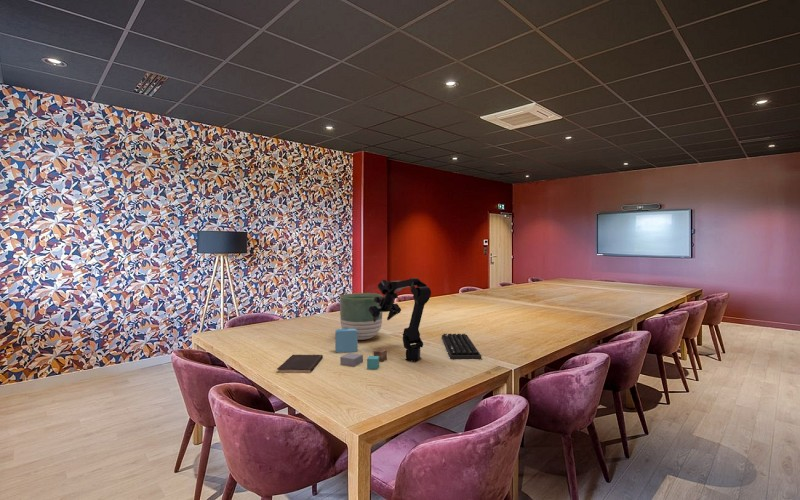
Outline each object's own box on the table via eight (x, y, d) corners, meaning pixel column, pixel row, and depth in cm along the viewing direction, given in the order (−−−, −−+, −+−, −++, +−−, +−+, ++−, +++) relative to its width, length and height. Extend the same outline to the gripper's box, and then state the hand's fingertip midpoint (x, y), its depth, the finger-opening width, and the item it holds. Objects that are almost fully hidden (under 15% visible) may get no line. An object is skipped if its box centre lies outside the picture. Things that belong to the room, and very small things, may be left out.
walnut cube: (386, 359, 198) (386, 349, 198) (382, 362, 194) (382, 352, 194) (378, 358, 200) (378, 348, 200) (373, 360, 196) (373, 351, 196)
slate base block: (362, 362, 194) (362, 354, 194) (354, 367, 186) (354, 359, 186) (349, 360, 197) (349, 352, 197) (340, 365, 190) (340, 357, 190)
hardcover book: (276, 373, 179) (276, 368, 179) (292, 359, 202) (292, 354, 201) (311, 374, 178) (311, 369, 178) (322, 359, 201) (322, 354, 201)
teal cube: (379, 366, 187) (379, 356, 187) (377, 369, 182) (377, 359, 182) (369, 366, 188) (369, 355, 188) (367, 369, 183) (367, 358, 183)
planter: (356, 346, 224) (356, 300, 223) (331, 338, 243) (331, 295, 243) (391, 338, 241) (391, 295, 241) (365, 331, 261) (365, 291, 261)
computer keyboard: (441, 339, 242) (441, 333, 242) (466, 339, 242) (466, 333, 242) (450, 360, 197) (450, 353, 197) (481, 360, 197) (481, 353, 197)
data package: (357, 349, 217) (356, 328, 217) (357, 351, 213) (357, 330, 212) (335, 350, 215) (335, 329, 215) (335, 352, 210) (335, 331, 210)
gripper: (395, 289, 227) (387, 310, 234) (368, 292, 216) (361, 313, 223) (405, 301, 219) (396, 322, 226) (377, 305, 208) (369, 326, 215)
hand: (381, 320), depth 223 cm, fingers open, 9 cm apart
